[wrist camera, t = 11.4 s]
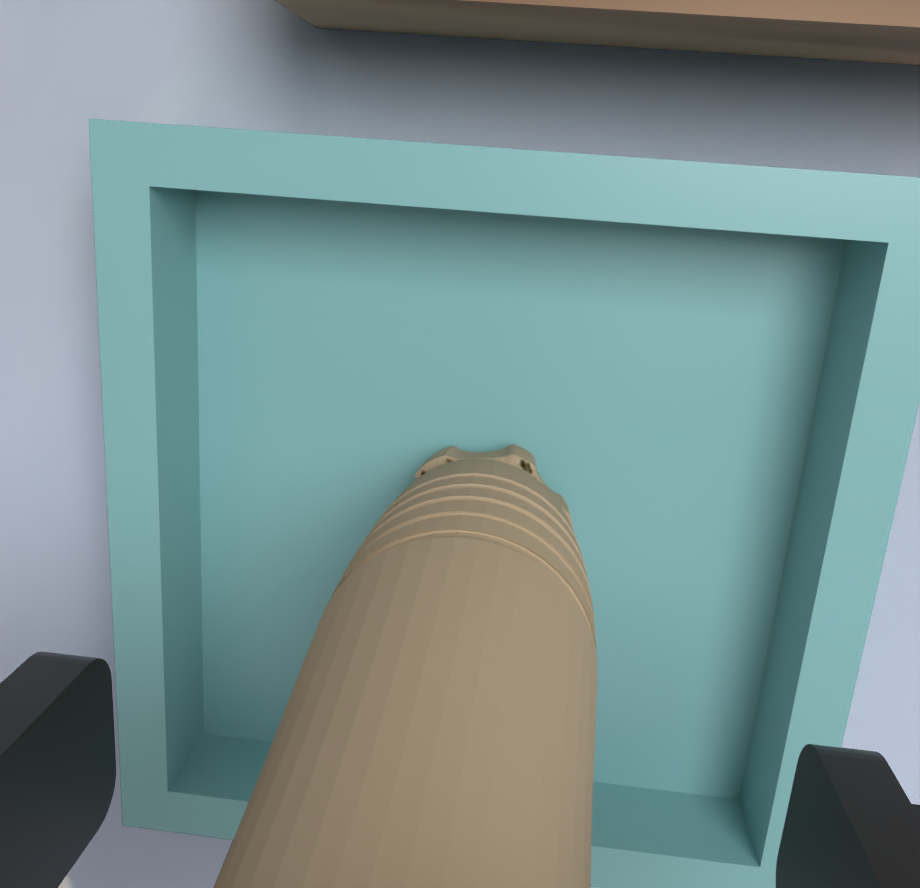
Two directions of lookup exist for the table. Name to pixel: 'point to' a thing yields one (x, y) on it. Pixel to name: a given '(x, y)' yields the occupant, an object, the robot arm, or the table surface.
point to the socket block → (651, 24)
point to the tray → (504, 442)
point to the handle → (440, 701)
